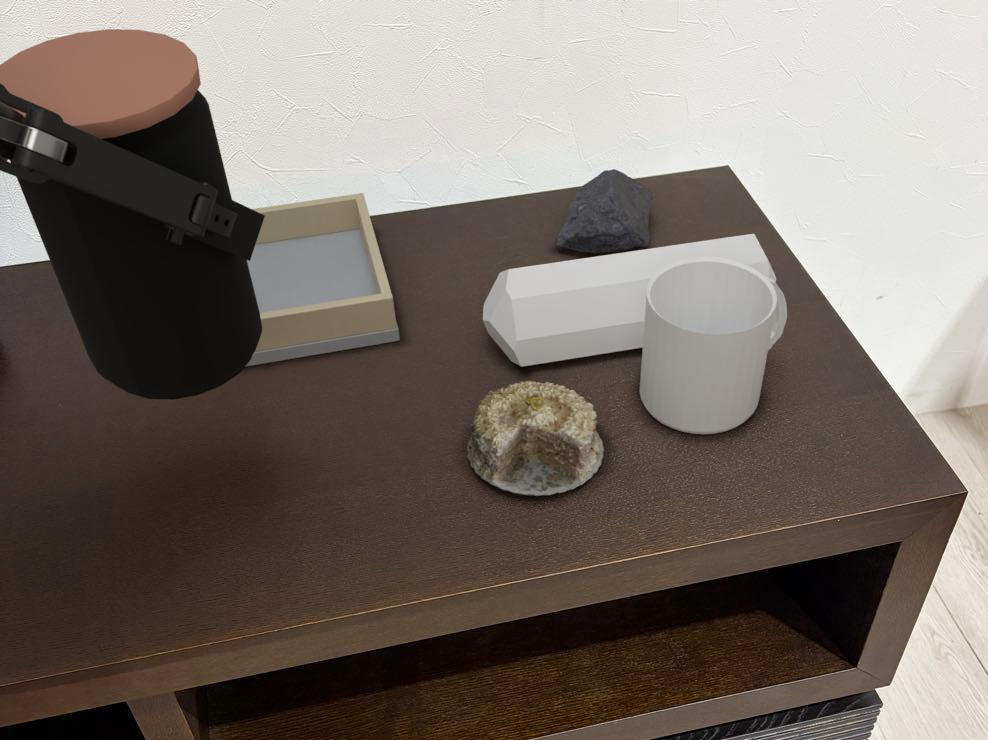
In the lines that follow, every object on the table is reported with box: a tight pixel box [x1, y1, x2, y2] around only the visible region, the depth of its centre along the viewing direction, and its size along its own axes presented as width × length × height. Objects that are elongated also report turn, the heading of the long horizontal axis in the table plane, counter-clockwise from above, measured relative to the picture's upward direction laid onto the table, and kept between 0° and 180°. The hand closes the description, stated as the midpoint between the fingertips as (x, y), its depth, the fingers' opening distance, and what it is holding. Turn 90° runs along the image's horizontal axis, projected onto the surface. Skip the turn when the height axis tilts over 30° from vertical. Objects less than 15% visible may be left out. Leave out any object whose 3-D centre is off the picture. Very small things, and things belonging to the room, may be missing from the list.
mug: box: [638, 257, 788, 435], centre depth 80 cm, size 12×9×9 cm
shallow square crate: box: [244, 192, 401, 368], centre depth 91 cm, size 16×16×4 cm
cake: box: [465, 380, 605, 497], centre depth 78 cm, size 10×10×5 cm
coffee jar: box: [0, 28, 262, 401], centre depth 63 cm, size 11×11×18 cm
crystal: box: [482, 233, 777, 368], centre depth 87 cm, size 7×7×24 cm
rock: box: [556, 168, 654, 255], centre depth 96 cm, size 9×6×10 cm
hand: (178, 209), depth 65 cm, fingers closed on coffee jar, 11 cm apart
